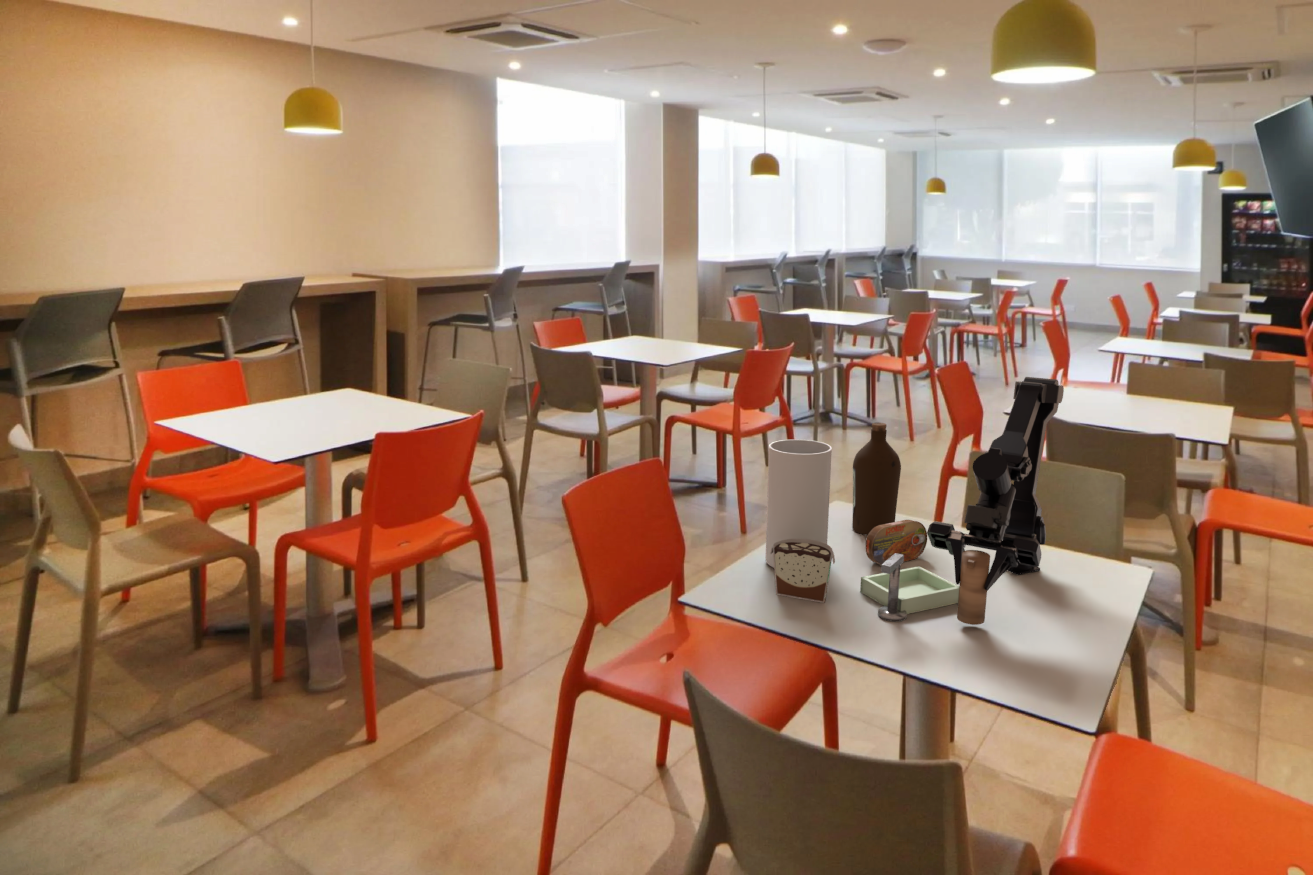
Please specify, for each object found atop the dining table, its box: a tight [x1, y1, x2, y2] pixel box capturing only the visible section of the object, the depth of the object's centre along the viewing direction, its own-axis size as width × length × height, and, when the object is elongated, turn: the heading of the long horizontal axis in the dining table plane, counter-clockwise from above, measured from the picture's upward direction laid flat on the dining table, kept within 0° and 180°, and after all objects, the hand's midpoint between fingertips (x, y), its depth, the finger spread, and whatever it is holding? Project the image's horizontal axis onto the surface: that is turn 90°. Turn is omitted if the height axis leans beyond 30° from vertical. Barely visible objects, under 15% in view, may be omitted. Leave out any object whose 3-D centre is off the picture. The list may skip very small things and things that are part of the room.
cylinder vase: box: [765, 438, 833, 569], centre depth 194 cm, size 12×12×25 cm
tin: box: [865, 519, 928, 566], centre depth 198 cm, size 15×3×8 cm, turn 117°
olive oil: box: [851, 422, 902, 536], centre depth 215 cm, size 11×11×25 cm
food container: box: [770, 539, 836, 604], centre depth 180 cm, size 12×6×10 cm, turn 65°
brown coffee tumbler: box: [956, 549, 991, 626], centre depth 164 cm, size 6×5×12 cm
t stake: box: [877, 553, 908, 622], centre depth 169 cm, size 8×5×11 cm, turn 146°
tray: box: [859, 566, 960, 615], centre depth 179 cm, size 14×12×3 cm
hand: (971, 586), depth 164 cm, fingers closed on brown coffee tumbler, 5 cm apart
